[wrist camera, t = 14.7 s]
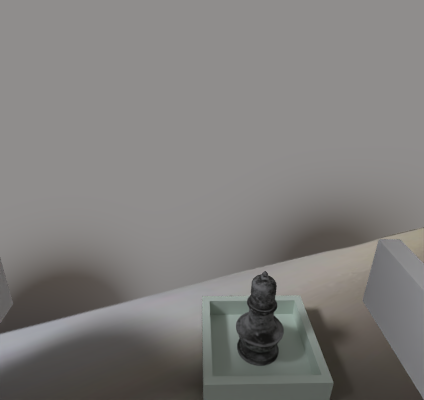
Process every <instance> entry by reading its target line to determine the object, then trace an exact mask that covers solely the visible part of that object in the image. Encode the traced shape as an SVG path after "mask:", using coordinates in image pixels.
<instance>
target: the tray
mask: <svg viewBox="0 0 424 400" xmlns="http://www.w3.org/2000/svg"><path fill="white" fill-rule="evenodd" d="M249 297H250V296H202V348H203V400H330V396H331V391H332V387H333V383H334V382H333V380H332V377H331V375H330V372H329V369H328V367H327V364H326V362H325V359H324V357H323V354H322V351H321V349H320V346H319V344H318V341H317V338H316V336H315V333H314V331H313V328H312V325H311V323H310V320H309V318H308V315H307V312H306V310H305V307H304V305H303V302H302V299H301V297H300V296H275V300H276V302H277V309H276V311H275V312H274V316H275V317H276V318H278V319H279V321H280V322H281V323H282V325H283V328H284V334H283V337H282V339H281V340H280V341H279V343H278V344H277V345H278V349H279V353H278V356H277V358H276V360H275V361H274V362H272V363H271V364H268V365H265V366H256V365H252V364H249V363H248V362H246V361H244V360H243V359H242V358H241V357H240V355H239V353H238V350H237V343H238V341H239V339H240V338H239V335H238V333H237V330H236V322H237V320H238V318H239V317H240V316H241V315H243V314H245V313H246V312H249V307H248V305H247V299H248V298H249Z"/></svg>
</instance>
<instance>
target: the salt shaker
mask: <svg viewBox="0 0 424 400" xmlns="http://www.w3.org/2000/svg"><path fill="white" fill-rule="evenodd" d="M275 295H276V282H275V280H274V279H273V278H272V277H270V276H268V273H267V272H266V271H265V272H263V273H262V275H258V276H256V277H255V278H254V279H253V281H252V287H251V296H250V297H249V298H248V299H247V305H248V307H249V312H246V313H245V314H243V315H241V316H240V317H239V318H238V320H237V322H236V330H237V333H238V335H239V338H240V339H239V341H238V343H237V350H238V353H239V355H240V357H241V358H242V359H243V360H244V361H246V362H248V363H249V364H252V365H256V366H265V365H268V364H271V363H272V362H274V361H275V360H276V358H277V356H278V353H279V349H278V345H277V344H278V343H279V341H280V340H281V339H282V337H283V334H284V328H283V325H282V323H281V322H280V321H279V319H278V318H276V317H275V316H274V312H275V311H276V309H277V302H276V300H275Z"/></svg>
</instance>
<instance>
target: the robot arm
mask: <svg viewBox="0 0 424 400" xmlns="http://www.w3.org/2000/svg"><path fill="white" fill-rule="evenodd" d="M363 302H364V304H365V305H366V307H367V308H368V310H369V312H370V313H371V315H372V317H373V318H374V320H375V321H376V323H377V325H378V326H379V328H380V329H381V331H382V333H383V334H384V336H385V338H386V339H387V341H388V342H389V344H390V346H391V347H392V349H393V351H394V352H395V354H396V355H397V357H398V359H399V360H400V362H401V364H402V365H403V367H404V368H405V370H406V372H407V373H408V375H409V377H410V378H411V380H412V381H413V383H414V385H415V386H416V388H417V390H418V391H419V393H420V394H421V396H422V398H423V399H424V263H423V262H422V261H421V260H420V259H419V258H418V257H417V256H416V255H415V254H414V253H413V252H412V251H411V250H410V249H409V248H408V247H407V246H406V245H405V244H404V243H403V242H402V241H401V240H400V239H379V241H378V245H377V249H376V252H375V256H374V260H373V264H372V267H371V271H370V275H369V278H368V282H367V286H366V290H365V293H364V297H363ZM12 304H13V302H12V298H11V295H10V291H9V287H8V284H7V281H6V277H5V273H4V270H3V266H2V263H1V259H0V323H1V321H2V320H3V318H4V317H5V315H6V313H7V312H8V311H9V309H10V308H11V306H12Z"/></svg>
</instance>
